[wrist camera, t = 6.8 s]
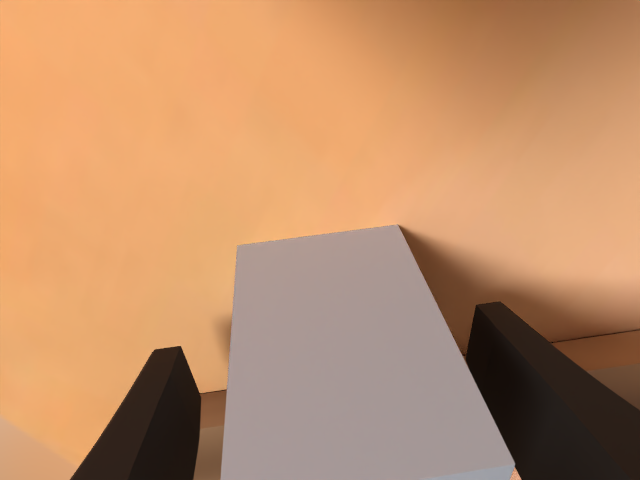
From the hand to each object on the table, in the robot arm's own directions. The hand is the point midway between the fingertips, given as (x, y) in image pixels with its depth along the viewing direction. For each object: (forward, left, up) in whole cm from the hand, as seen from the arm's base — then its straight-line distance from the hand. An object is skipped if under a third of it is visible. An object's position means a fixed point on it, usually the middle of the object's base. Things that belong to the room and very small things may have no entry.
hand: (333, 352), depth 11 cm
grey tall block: (-3, 0, -2) cm, 3 cm away
